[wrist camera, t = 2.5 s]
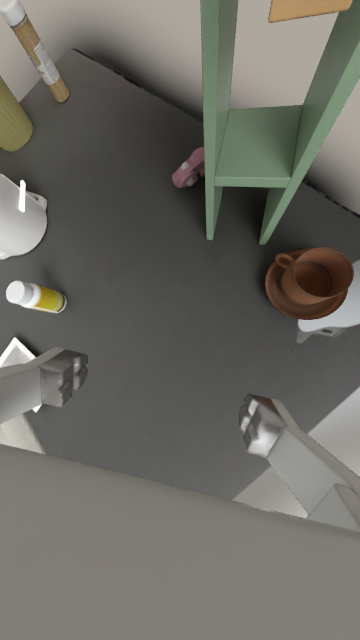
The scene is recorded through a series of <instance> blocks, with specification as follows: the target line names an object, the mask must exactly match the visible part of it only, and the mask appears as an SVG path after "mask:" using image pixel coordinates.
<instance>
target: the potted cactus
mask: <svg viewBox="0 0 360 640" xmlns="http://www.w3.org/2000/svg"><path fill="white" fill-rule="evenodd" d="M32 132H33V125H32V123H31V121H30V119H29V118H28V116H27V115H26V113H25V112H24V110H23V109H22V107H21V106H20V104H19V103H18V101H17V100H16V98H15V97H14V95H13V94H12V92H11V91H10V90H9V88H8V87H7V85H6V84H5V82H4V81H3V79H2V78H1V76H0V147H1V148H3V149H4V150H6V151H10V152H11V151H16V150H18V149H20V148H21V147H23V146H24V145H25V144H26V143H27V142H28V140H29V139H30V137H31V135H32Z"/></svg>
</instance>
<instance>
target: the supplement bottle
mask: <svg viewBox="0 0 360 640" xmlns="http://www.w3.org/2000/svg"><path fill="white" fill-rule="evenodd" d="M6 297H7V299H8V301H9V302H12V303H16V304H20V305H22V306H23V307H26V308H30V309H35V310H40V311H45V312H50V313H60V312H61V311H63V310H64V309H65V307H66V304H67V299H66V297H65V295H64V294H62V293H60V292H57V291H54V290H51V289H48V288H45V287H42V286H39V285H37V284H32V283H30V284H28V283H25V282H21V281H14V282H12V283H11V284H10V285H9V286H8V288H7V291H6Z"/></svg>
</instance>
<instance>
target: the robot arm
mask: <svg viewBox="0 0 360 640" xmlns="http://www.w3.org/2000/svg"><path fill="white" fill-rule="evenodd" d="M46 207H47V200H46V199H45V198H44V197H42V196H40V195H37V194H34V193H31V192H28V191H26V190H25V182H24V181H23V180H21V188H20V187H18V186H17V185H16V184H14V183H13V182H12V181H11V180H9V179H8V178H7V177H6V176H4V175H3V174H0V259H1V260H3V259H6V258H8V257H10V256H17V255H23V254H25V253H27V252H29V251H31V250H32V249H33V248H34V247H35V246H36V245H37V244H38V243H39V242H40V241H41V239H42V237H43V235H44V233H45V230H46V227H47V216H46ZM87 363H88V356H87V355H86V354H83V353H79V352H75V351H72V350H68V349H64V348H60V347H54V348H52V349H50V350H49V351H47V352H45V353H43V354H41V355H40V356H38V357H36V358H34V359H33V360H31V361H29V362H27V363H25V364H23V363H20V364H15V365H10V366H6V367H1V368H0V424H2V423H4V422H6V421H8V420H10V419H12V418H14V417H16V416H18V415H21V414H23V413H25V412H27V411H29V410H31V409H33V408H35V407H37V406H39V405H41V404H42V403H45V404H50V405H54V406H59V407H62V406H63V405H64V404H65V403H66V402H67V401H68V400H69V399H70V397H71V396H72V391H75V390H77V389H79V388H80V387H81V386H82V385H83V383H84V381H85V380H86V377H87V372H88V369H87V368H86V366H85V365H86V364H87ZM244 401H245V403H246V404H245V405H243V406H242V407H241V408H240V411H239V425H240V428H241V429H242V430H243V432H244V433H245V434H244V436H243V439H244V442H245V445H246V449H247V452H248V453H252V454H256V455H259V456H263V457H266V458H267V460H268V461H269V462H270V464H271V465H272V466H273V468H274V469H275V470H276V472H277V473H278V474H279V476H280V477H281V479H282V480H283V481H284V482H285V484H286V485H287V486H288V488H289V489H290V491H291V492H292V493H293V495H294V496H295V497H296V499H297V500H298V501H299V503H300V504H301V505H302V507H303V508H304V510H305V511H306V512H307V514H308V515H309V516H308V517H307V518H306V519H305V518H301V517H297V516H293V515H289V514H285V513H281V512H277V511H272V510H269V509H265V508H261V507H256V506H252V505H248V504H244V503H240V502H236V501H232V500H228V499H224V498H220V497H215V496H211V495H207V494H203V493H199V492H195V491H191V490H187V489H183V488H179V487H174V486H170V485H166V484H162V483H158V482H154V481H150V480H146V479H142V478H138V477H134V476H130V475H126V474H122V473H118V472H113V471H109V470H105V469H101V468H97V467H93V466H89V465H85V464H81V463H77V462H73V461H69V460H65V459H61V458H57V457H53V456H48V455H44V454H40V453H36V452H32V451H28V450H24V449H20V448H16V447H12V446H7V445H4V444H0V640H360V477H359V476H358V475H356V474H355V473H354V472H353V471H352V470H350V469H349V468H348V467H347V466H345V465H344V464H343V463H342V462H340V461H339V460H338V459H337V458H336V457H334V456H333V455H332V454H331V453H330V452H328V451H327V450H326V449H325V448H324V447H322V446H321V445H320V444H319V443H317V442H316V441H315V440H314V439H312V438H311V437H310V436H309V435H308V434H306V433H305V432H304V431H300V429H299V428H298V426H297V425H296V423H295V422H294V420H293V419H292V417H291V416H290V414H289V413H288V411H287V410H286V408H285V407H284V405H283V404H282V402H281V401H279V400H276V399H271V398H265V397H261V396H256V395H252V394H247V395H246V397H245V399H244Z"/></svg>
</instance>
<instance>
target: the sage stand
mask: <svg viewBox="0 0 360 640" xmlns="http://www.w3.org/2000/svg"><path fill="white" fill-rule="evenodd" d="M200 2H201V41H202V79H203V116H204V117H203V118H204V157H205V195H206V233H207V240H213V236H214V231H215V226H216V221H217V216H218V212H219V207H220V202H221V197H222V188H223V186H235V187H271V188H270V190H269V193H268V196H267V200H266V206H265V211H264V217H263V223H262V228H261V234H260V240H259V244H261V245H266V243H267V241H268V240H269V238H270V236H271V234H272V232H273V231H274V229H275V227H276V225H277V224H278V222H279V220H280V218H281V216H282V215H283V213H284V211H285V209H286V208H287V206H288V204H289V202H290V201H291V199H292V197H293V195H294V193H295V192H296V190H297V188H298V186H299V185H300V183H301V181H302V179H303V177H304V176H305V174H306V172H307V170H308V169H309V167H310V165H311V163H312V162H313V160H314V158H315V156H316V154H317V153H318V151H319V149H320V147H321V146H322V144H323V142H324V140H325V138H326V137H327V135H328V133H329V131H330V130H331V128H332V126H333V124H334V123H335V121H336V119H337V117H338V115H339V114H340V112H341V110H342V108H343V107H344V105H345V103H346V101H347V99H348V98H349V96H350V94H351V92H352V90H353V89H354V87H355V85H356V83H357V82H358V80H359V78H360V0H353V1H352V3H351V6H350V7H349V9H348V10H346V11H342V12H339V14H338V16H337V19H336V22H335V24H334V27H333V29H332V32H331V34H330V37H329V39H328V42H327V45H326V47H325V50H324V52H323V55H322V57H321V60H320V62H319V65H318V67H317V70H316V73H315V75H314V78H313V80H312V83H311V86H310V88H309V91H308V93H307V96H306V98H305V101H304V103H303V106H302V105H294V106H279V107H263V108H248V109H232V110H229V105H230V93H231V80H232V69H233V57H234V45H235V33H236V22H237V9H238V0H201V1H200Z"/></svg>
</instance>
